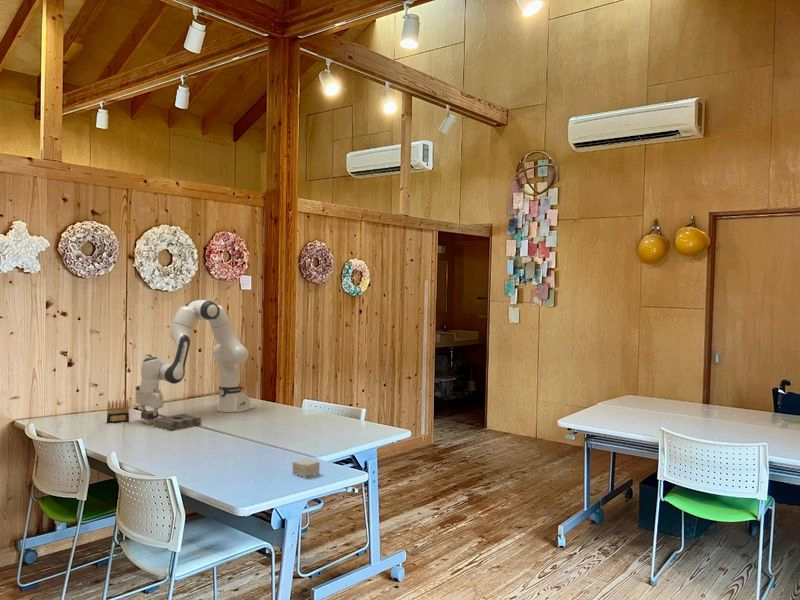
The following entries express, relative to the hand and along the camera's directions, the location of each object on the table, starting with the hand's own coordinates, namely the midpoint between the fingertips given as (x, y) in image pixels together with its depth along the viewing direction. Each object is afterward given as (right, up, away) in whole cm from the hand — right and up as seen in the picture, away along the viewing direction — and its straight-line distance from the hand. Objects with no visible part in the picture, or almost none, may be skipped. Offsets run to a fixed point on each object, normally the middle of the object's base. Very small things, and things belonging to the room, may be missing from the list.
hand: (149, 414), depth 332 cm
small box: (+95, -10, -80) cm, 125 cm away
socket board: (+17, -5, -4) cm, 18 cm away
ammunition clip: (-16, -5, 0) cm, 17 cm away
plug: (0, -5, 0) cm, 5 cm away
